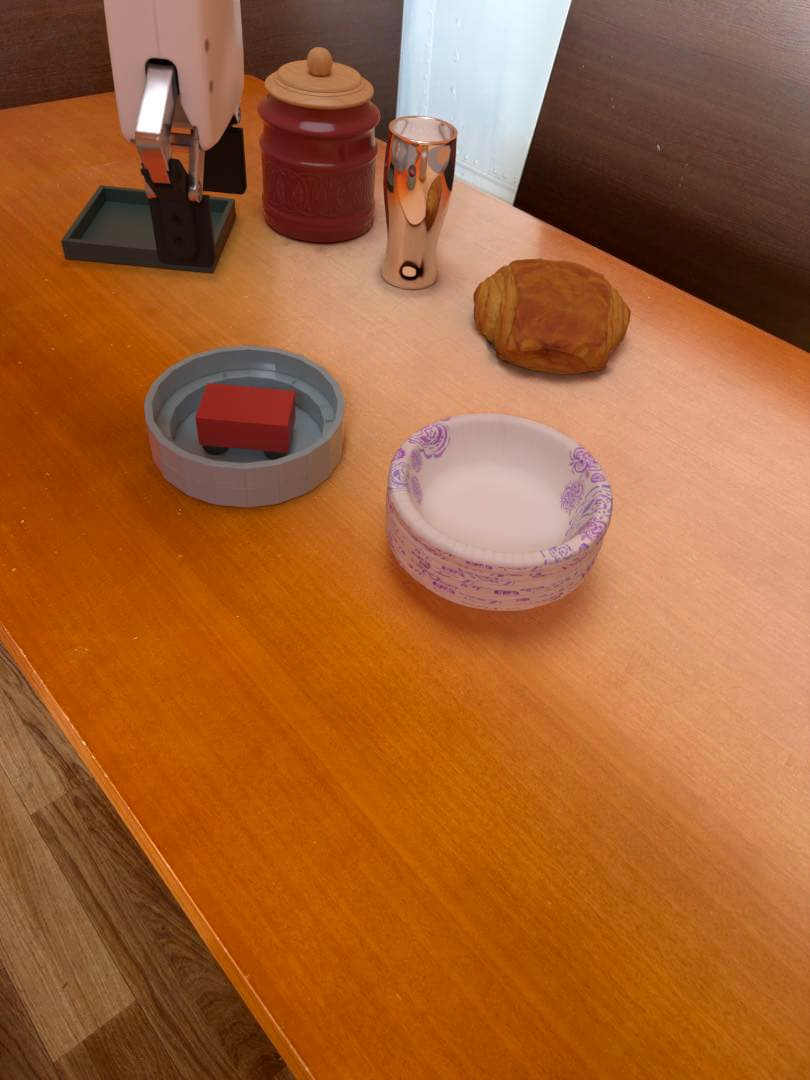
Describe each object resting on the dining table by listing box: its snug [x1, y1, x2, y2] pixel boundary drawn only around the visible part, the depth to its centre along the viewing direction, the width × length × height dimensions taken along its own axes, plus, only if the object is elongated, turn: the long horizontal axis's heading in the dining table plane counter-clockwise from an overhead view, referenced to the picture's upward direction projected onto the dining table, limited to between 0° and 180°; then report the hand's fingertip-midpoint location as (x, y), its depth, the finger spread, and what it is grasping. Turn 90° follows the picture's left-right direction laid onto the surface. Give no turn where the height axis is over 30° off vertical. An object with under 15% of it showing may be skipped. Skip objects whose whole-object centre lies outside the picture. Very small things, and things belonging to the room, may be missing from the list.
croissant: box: [472, 258, 632, 375], centre depth 77 cm, size 14×16×8 cm
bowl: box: [143, 344, 346, 509], centre depth 63 cm, size 15×15×4 cm
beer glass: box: [380, 115, 459, 290], centre depth 80 cm, size 7×7×15 cm
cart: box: [195, 383, 296, 460], centre depth 63 cm, size 7×4×4 cm, turn 88°
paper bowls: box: [384, 412, 614, 612], centre depth 56 cm, size 15×15×8 cm
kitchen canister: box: [257, 46, 381, 243], centre depth 86 cm, size 13×13×18 cm
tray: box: [60, 184, 237, 274], centre depth 86 cm, size 15×13×2 cm
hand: (206, 224), depth 49 cm, fingers open, 9 cm apart
